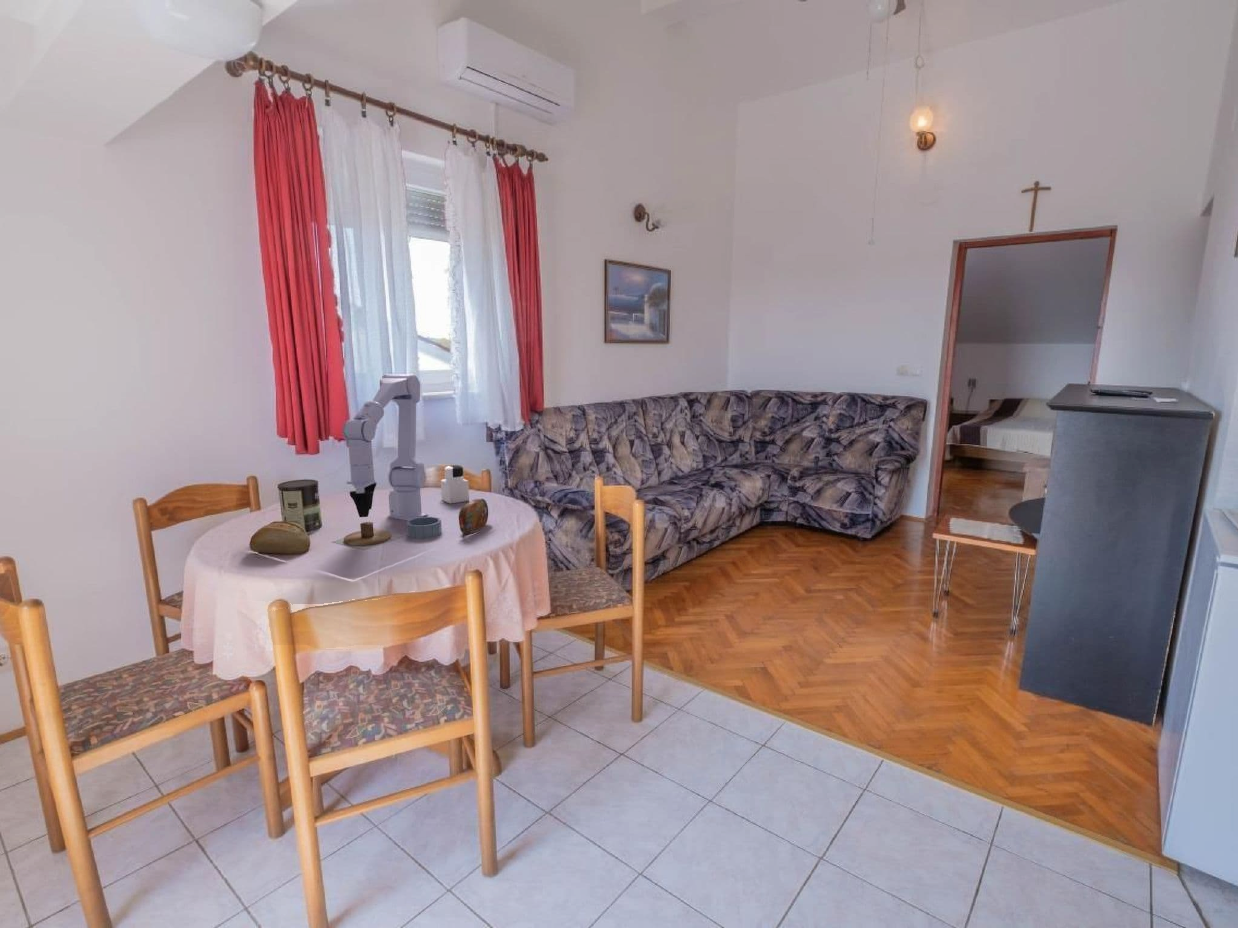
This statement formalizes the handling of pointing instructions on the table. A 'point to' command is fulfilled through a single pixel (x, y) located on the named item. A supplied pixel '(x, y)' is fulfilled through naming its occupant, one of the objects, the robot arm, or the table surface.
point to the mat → (341, 541)
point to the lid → (367, 536)
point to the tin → (473, 516)
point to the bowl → (424, 527)
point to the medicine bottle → (454, 485)
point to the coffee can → (301, 503)
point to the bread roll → (280, 538)
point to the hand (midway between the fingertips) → (365, 512)
